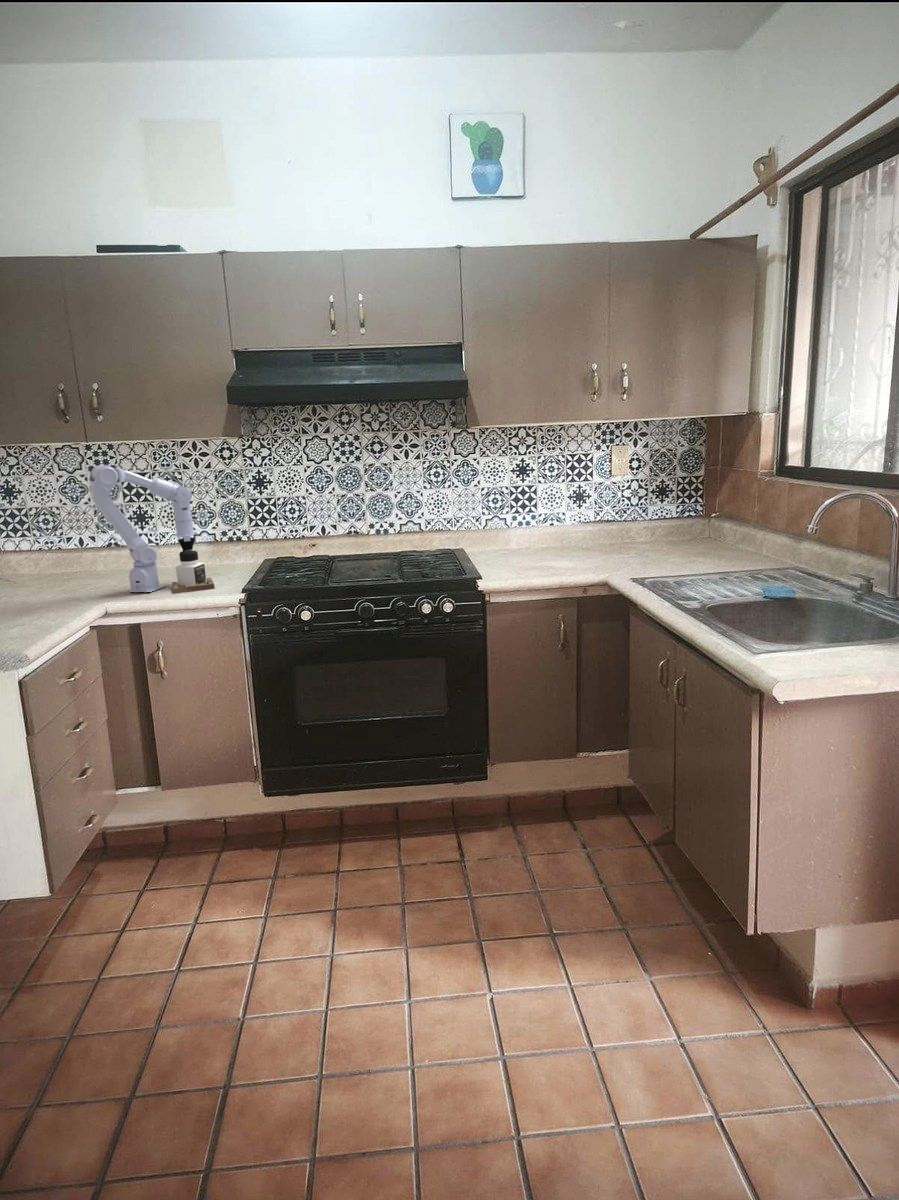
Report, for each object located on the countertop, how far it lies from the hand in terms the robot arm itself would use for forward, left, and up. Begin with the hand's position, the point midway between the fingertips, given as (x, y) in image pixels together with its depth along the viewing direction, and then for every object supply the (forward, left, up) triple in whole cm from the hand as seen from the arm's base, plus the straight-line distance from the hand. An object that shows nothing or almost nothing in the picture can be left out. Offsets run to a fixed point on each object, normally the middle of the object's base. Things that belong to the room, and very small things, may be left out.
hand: (188, 558), depth 272 cm
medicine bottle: (-4, -2, -9) cm, 10 cm away
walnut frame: (-8, -5, -8) cm, 13 cm away
